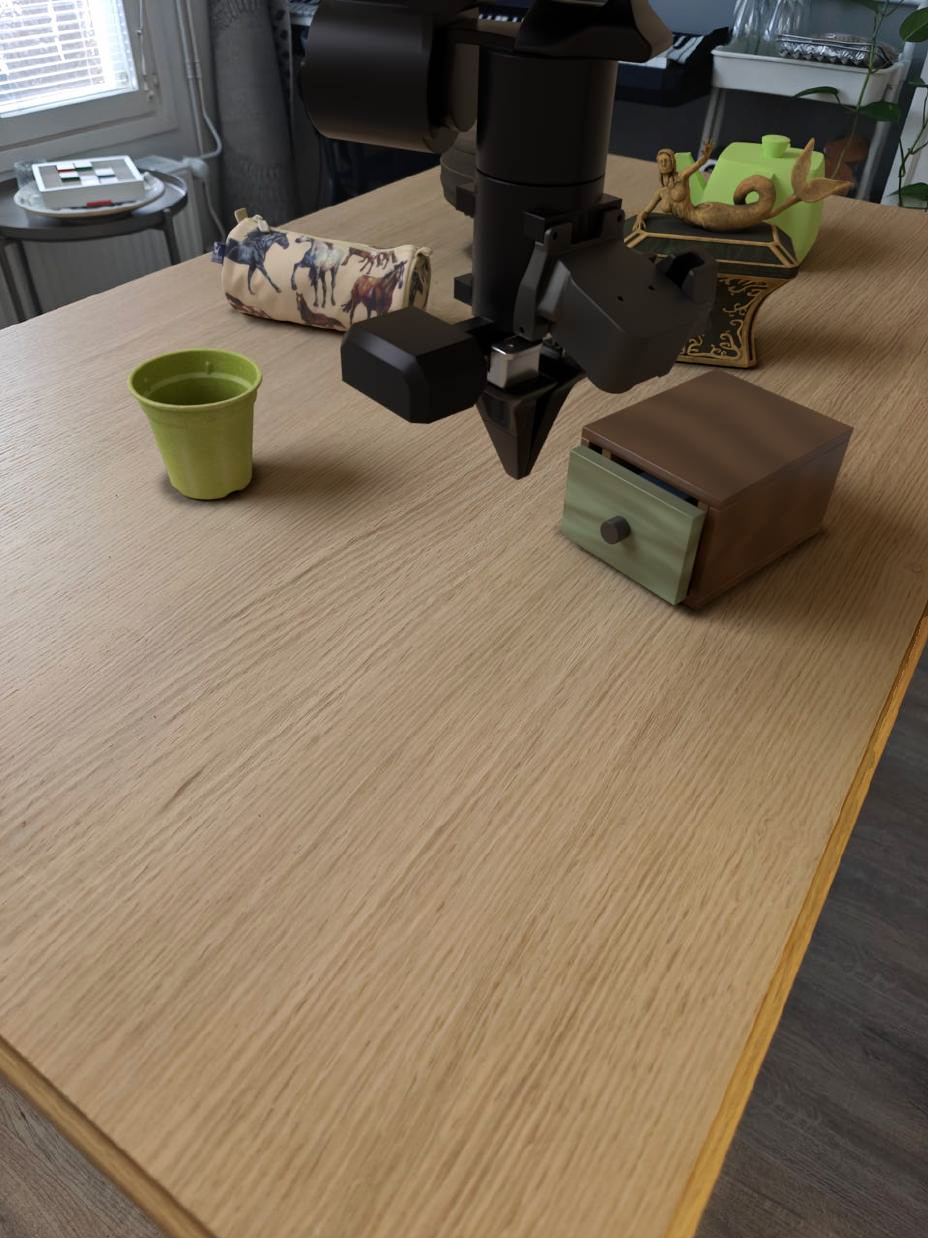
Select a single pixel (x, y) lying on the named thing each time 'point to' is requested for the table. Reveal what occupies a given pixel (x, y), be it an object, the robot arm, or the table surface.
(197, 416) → the plant pot
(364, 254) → the pencil case
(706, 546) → the cabinet
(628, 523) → the drawer
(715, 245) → the decorative box
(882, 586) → the table surface
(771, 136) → the teapot
